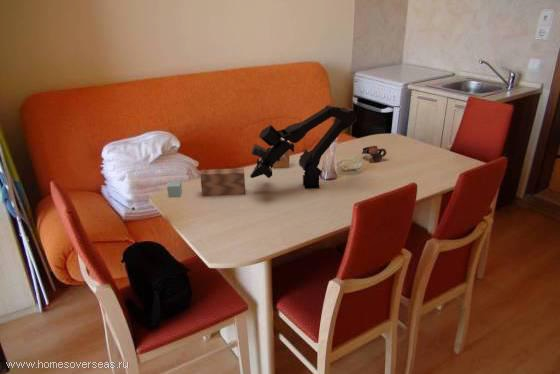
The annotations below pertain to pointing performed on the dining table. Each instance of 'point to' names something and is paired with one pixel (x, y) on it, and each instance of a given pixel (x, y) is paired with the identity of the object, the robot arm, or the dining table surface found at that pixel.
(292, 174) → the dining table surface
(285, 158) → the small box
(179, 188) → the teal cube
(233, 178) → the brown patterned block
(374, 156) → the pottery mug
